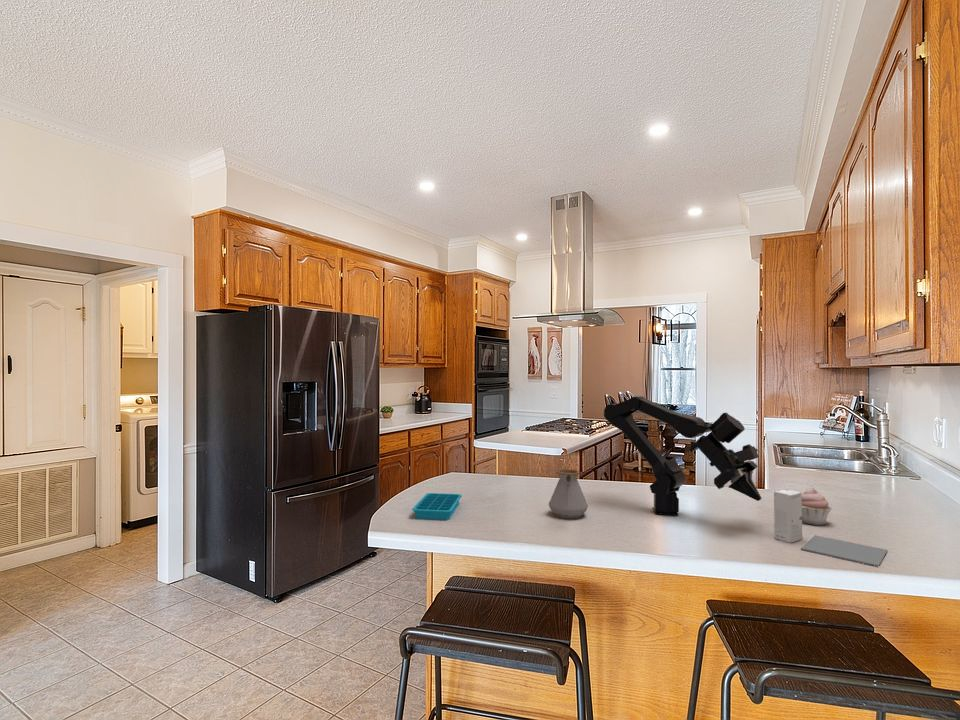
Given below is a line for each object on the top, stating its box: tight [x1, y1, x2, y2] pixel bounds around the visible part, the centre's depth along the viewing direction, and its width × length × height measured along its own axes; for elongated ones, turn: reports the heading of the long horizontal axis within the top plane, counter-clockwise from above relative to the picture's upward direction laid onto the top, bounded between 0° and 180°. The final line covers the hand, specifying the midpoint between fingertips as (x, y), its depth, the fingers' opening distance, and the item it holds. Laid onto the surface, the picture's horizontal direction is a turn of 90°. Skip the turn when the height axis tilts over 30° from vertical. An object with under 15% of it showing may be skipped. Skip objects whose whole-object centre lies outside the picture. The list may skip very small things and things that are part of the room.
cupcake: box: [801, 487, 833, 526], centre depth 148 cm, size 9×9×10 cm
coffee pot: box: [548, 469, 589, 519], centre depth 149 cm, size 21×12×15 cm, turn 170°
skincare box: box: [773, 489, 803, 544], centre depth 133 cm, size 6×4×12 cm
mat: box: [800, 534, 888, 567], centre depth 125 cm, size 15×14×1 cm
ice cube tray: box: [411, 492, 463, 521], centre depth 157 cm, size 12×20×3 cm, turn 173°
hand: (759, 499), depth 138 cm, fingers closed
